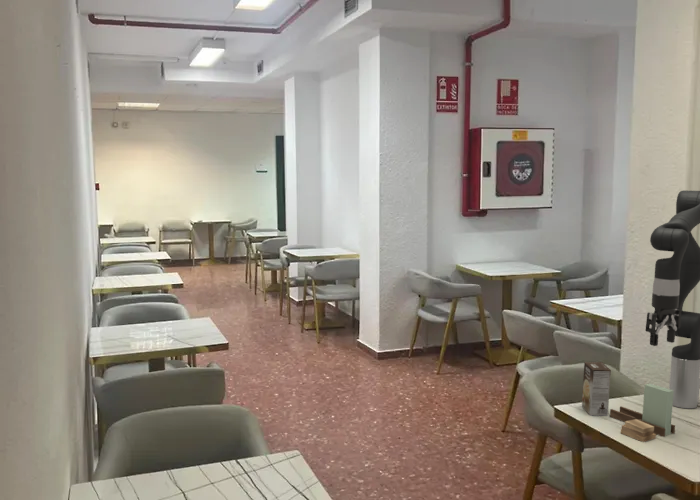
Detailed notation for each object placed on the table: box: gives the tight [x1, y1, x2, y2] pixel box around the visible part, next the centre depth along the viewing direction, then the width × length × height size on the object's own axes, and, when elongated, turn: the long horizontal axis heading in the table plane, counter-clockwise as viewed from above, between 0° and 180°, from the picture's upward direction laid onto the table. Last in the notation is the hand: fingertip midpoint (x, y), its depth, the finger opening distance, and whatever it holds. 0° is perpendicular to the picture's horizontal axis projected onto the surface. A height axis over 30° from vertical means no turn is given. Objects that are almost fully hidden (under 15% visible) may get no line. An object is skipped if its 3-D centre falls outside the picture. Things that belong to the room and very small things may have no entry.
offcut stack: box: [620, 419, 657, 443], centre depth 206 cm, size 6×8×4 cm
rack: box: [609, 406, 676, 438], centre depth 216 cm, size 6×20×2 cm, turn 31°
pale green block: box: [642, 383, 674, 436], centre depth 210 cm, size 3×8×14 cm, turn 31°
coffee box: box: [581, 361, 612, 417], centre depth 227 cm, size 9×6×16 cm
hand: (662, 343), depth 208 cm, fingers open, 8 cm apart
